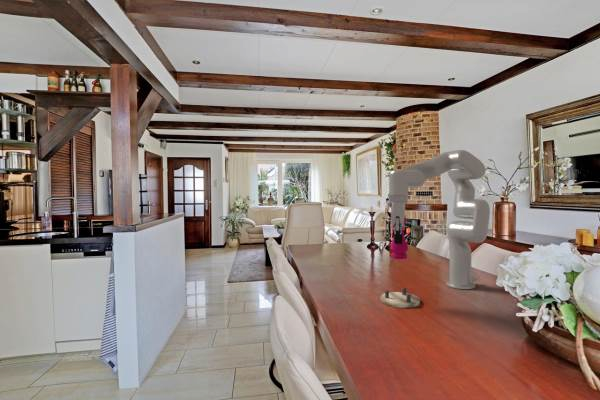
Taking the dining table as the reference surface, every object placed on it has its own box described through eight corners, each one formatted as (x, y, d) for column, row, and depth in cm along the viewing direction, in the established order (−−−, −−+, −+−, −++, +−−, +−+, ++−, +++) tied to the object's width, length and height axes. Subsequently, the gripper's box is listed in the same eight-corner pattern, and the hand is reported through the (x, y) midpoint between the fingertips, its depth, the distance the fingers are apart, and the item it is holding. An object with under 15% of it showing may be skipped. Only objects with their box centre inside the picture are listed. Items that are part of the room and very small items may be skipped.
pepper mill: (409, 259, 131) (408, 211, 130) (391, 259, 132) (390, 211, 132) (407, 256, 138) (406, 210, 137) (389, 256, 139) (389, 210, 139)
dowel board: (402, 293, 146) (402, 283, 146) (428, 304, 131) (428, 293, 131) (372, 298, 140) (372, 288, 139) (397, 310, 125) (397, 299, 125)
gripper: (391, 199, 144) (392, 239, 144) (386, 200, 128) (387, 245, 128) (409, 199, 141) (409, 240, 141) (406, 200, 125) (406, 246, 125)
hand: (399, 242), depth 135 cm, fingers closed on pepper mill, 5 cm apart
